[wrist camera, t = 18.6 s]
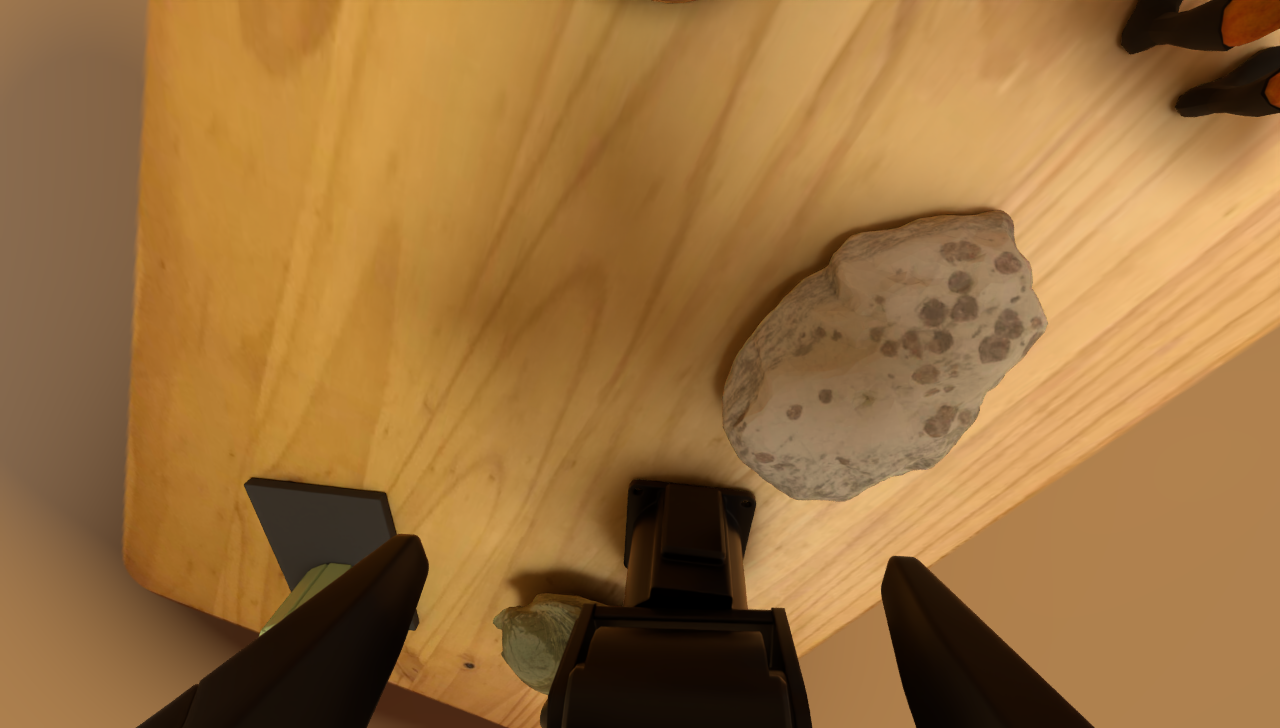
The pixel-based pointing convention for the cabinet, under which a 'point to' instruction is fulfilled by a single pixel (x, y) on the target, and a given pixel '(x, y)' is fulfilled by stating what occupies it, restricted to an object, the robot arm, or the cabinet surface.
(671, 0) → the stand
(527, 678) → the seashell
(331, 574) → the ring
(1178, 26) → the action figure
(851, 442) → the decorative stone
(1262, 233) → the cabinet surface
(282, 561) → the pad
